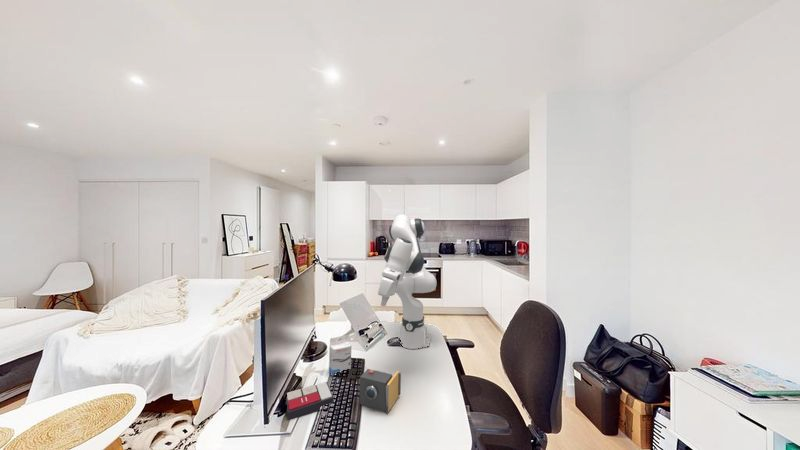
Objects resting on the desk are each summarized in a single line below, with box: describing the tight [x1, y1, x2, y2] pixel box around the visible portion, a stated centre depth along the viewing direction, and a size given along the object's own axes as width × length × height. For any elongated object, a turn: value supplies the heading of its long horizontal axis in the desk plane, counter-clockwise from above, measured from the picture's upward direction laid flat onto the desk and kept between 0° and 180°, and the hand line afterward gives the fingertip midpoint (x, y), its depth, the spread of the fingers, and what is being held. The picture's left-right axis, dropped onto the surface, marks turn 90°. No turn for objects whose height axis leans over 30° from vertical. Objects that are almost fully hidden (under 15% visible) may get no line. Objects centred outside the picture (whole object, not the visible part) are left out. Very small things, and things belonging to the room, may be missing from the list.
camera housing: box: [359, 368, 393, 413], centre depth 95 cm, size 7×10×11 cm
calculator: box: [285, 381, 335, 421], centre depth 95 cm, size 11×4×15 cm
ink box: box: [328, 334, 352, 374], centre depth 117 cm, size 8×5×15 cm, turn 123°
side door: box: [384, 370, 402, 414], centre depth 95 cm, size 11×2×9 cm, turn 159°
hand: (382, 305), depth 112 cm, fingers closed
